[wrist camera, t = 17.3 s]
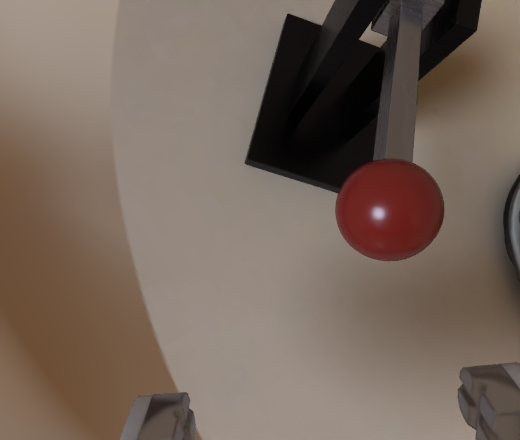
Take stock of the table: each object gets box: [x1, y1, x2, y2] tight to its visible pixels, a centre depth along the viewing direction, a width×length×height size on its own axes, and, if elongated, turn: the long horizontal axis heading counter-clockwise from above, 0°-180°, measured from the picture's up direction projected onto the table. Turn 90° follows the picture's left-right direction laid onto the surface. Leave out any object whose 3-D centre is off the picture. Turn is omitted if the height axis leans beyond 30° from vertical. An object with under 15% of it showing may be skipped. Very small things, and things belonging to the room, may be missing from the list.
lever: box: [335, 0, 445, 261], centre depth 15 cm, size 14×4×4 cm, turn 165°
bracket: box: [245, 0, 482, 193], centre depth 22 cm, size 12×9×14 cm
